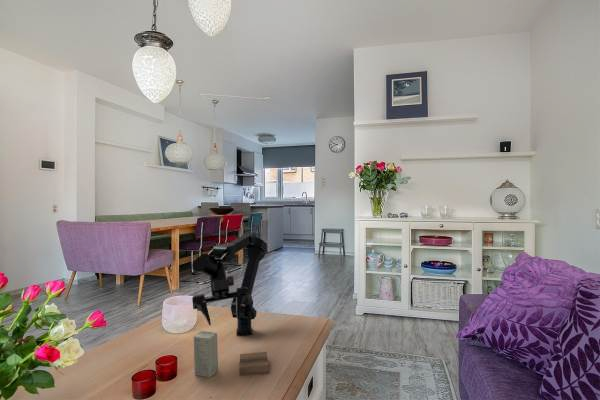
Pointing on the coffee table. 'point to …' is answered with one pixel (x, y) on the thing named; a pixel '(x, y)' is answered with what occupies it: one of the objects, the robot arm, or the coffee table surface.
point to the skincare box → (205, 354)
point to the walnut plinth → (254, 363)
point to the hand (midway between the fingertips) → (224, 322)
